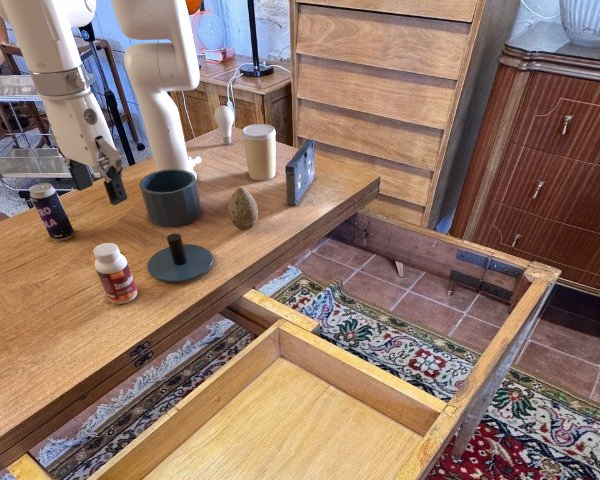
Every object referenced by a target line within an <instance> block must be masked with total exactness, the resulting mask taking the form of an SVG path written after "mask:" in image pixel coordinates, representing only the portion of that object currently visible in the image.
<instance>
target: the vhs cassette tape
mask: <svg viewBox="0 0 600 480" xmlns="http://www.w3.org/2000/svg"><path fill="white" fill-rule="evenodd" d="M315 150H316V143H315V139H306V140H305V141H304V142H303V144H302V145H301V146H300V147H299V148H298V150H297V151H296V152H295V154H294V155H293V156H292V158H291V159H290V160H289V162H288V163H287V164H286V165H285V169H284V170H285V186H286V204H287V205H288V206H295V207H296V206H297V205H298V203H299V202H300V200H301V199H302V197H303V196H304V194H305V193H306V191H307V190H308V188H309V187H310V185H311V184H312V182H313V180H314V179H315V177H316V176H315V175H316V173H315V172H316V170H315V168H316V157H315V156H316V155H315V153H316V151H315Z"/></svg>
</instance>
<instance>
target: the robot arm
mask: <svg viewBox="0 0 600 480" xmlns="http://www.w3.org/2000/svg"><path fill="white" fill-rule="evenodd" d="M110 2H111V5H112V9H113V11H114V15H115V18H116V20H117V23H118V26H119V28H120V31H121V32H122V34H123V35H124V36H125V37H126V38H128V39H131V40H137V41H156V40H169V41H170V42H141V43H134V44H132V45H130V46H129V47H128V48H127V49H126V50H125V52H124V56H123V62H124V68H125V71H126V74H127V76H128V80H129V82H130V84H131V87H132V90H133V91H134V94H135V97H136V100H137V104H138V106H139V110H140V113H141V118H142V121H143V126H144V129H145V133H146V137H147V141H148V144H149V149H150V152H151V156H152V159H153V164H154V168H155V172H157V171H161V170H168V169H179V170H185V171H188V172H191V173H192V174H193V175H194V176H195V178H196V180H197V179H198V175H197V172H196V170H194V168H195V166H198V165H199V164H201V163H202V157H201V156H199V155H196V156H194V157H193V158H192V157H191V156H188V152H187V147H186V141H185V137H184V132H183V127H182V121H181V118H180V112H179V109H178V106H177V105H176V103H175V102H174V100H173V98H171V96H170V95H169V94H168V93H167V92H184V91H187V92H188V91H194V90H195V89H197V87H198V86H199V84H200V79H201V78H200V67H199V61H198V56H197V50H196V46H195V40H194V35H193V30H192V26H191V25H192V24H191V20H190V15H189V11H188V7H187V3H186V0H110ZM96 8H97V0H0V18H1V19H3V20H4V21H5V22H6V23H8V24H9V25H10V27H11V29H12V33H13V35H14V37H15V40H16V42H17V44H18V47H19V50H20V52H21V55H22V57H23V59H24V62H25V64H26V67H27V69H28V72H29V74H30V77H31V80H32V82H33V84H34V87H35V90H36V92H37V94H38V97H39V98H40V99H41V101H42V104H43V107H44V111H45V114H46V117H47V120H48V123H49V125H50V128H51V131H52V133H51V134H50V137H51V139H52V141H53V142H54V144H55V146H56V147H57V150H58V153H59V154H60V155H61V156H62V158H64V159H63V163H64V164H65V166H66V167H67V168H68V171H69V174H70V177H71V179H72V182H73V183H74V186H75V189H76V191H79V192H81V191H84V190H86V189H88V188H90V187H92V186H93V185H94V182H93V179H92V177H91V173H90V171H89V168H88V167H91V168H94V169H97V171H98V172H99V174H100V175H101V176H102V177H103V180H104V181H103V185H104V188H105V191H106V194H107V196H108V199H109V202H110V205H112V206H117V205H119V204H120V203H122V202H125V201H126V200H128V195H127V192H126V189H125V186H124V182H123V179H122V177H123V166H122V156H121V154H120V153H119V152H118V151H117V149H116V146H115V143H114V140H113V137H112V135H111V132H110V129H109V126H108V124H107V123H108V122H107V121H106V119H105V116H104V114H103V112H102V110H101V107H100V105H99V103H98V100H97V98H96V97H95V95H94V93H93V91H91V87H90V83H89V80H88V77H87V74H86V71H85V68H84V64H83V63H82V58H81V55H80V53H79V50H78V46H77V44H76V41H75V37H74V34H73V31H72V29H73V28H81V27H82V28H83V27H85V26H88V25H89V24H90V23H91V22H92V21H93V18H94V17H95V14H96V10H97V9H96ZM106 166H108V170H106V168H105V167H106Z"/></svg>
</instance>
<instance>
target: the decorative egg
mask: <svg viewBox="0 0 600 480" xmlns="http://www.w3.org/2000/svg"><path fill="white" fill-rule="evenodd" d="M227 209H228V211H227V212H228V217H229V220H230V222H231V223H232V224H233V226H234V227H236V228H237V229H239V230H243V231H244V230H245V231H247V230H250V229H252V228H253V227H254V226H255V224H256V223H257V221H258V217H259V216H258V215H259V208H258V204H257V202H256V200H255V198H254V197H253V195H252V194H251V193H250V192H249V191H248V190H247V189H245V188H243V187H238V188H236V189H235V190H234V191H233V193H232V195H231V197H230V199H229V202H228V206H227Z"/></svg>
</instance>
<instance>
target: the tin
mask: <svg viewBox="0 0 600 480" xmlns="http://www.w3.org/2000/svg"><path fill="white" fill-rule="evenodd" d="M139 189H140V192H141V196H142V199H143V203H144V205H145V209H146V212H147V216H148V218H149V220H150V222H151V223H153V225H156V226H160V227H164V228H177V227H183V226H186V225H189V224H191V223H193V222H195V221H196V220H198V219H199V218H200V217H201V215H202V204H201V197H200V193H199V189H198V183H197V179H196V178H195V176H194V175H193V174H192V173H191V172H188V171H185V170H179V169H168V170H161V171H157V172H156V171H153V172H151V173H149V174H147V175H145V176H144V177H143V178H142V179H141V180H140V181H139Z"/></svg>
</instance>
